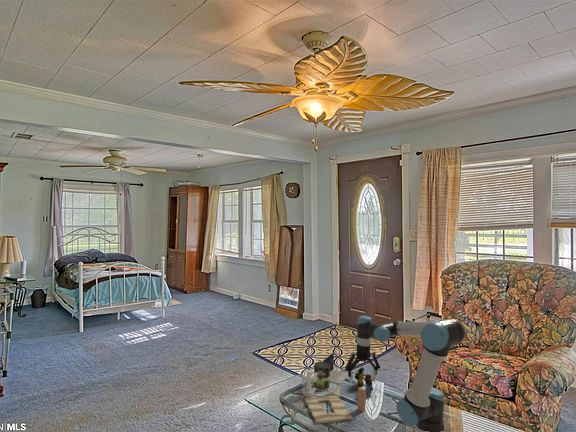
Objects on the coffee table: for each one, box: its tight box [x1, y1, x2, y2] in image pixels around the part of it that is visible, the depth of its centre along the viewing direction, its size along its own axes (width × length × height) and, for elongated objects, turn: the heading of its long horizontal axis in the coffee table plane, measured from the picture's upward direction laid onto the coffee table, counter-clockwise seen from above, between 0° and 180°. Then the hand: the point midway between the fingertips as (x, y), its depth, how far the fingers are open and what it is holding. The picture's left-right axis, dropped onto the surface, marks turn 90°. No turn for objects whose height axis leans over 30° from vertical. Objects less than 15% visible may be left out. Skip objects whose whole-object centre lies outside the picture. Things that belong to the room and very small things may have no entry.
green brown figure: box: [312, 361, 331, 392], centre depth 239 cm, size 10×10×14 cm
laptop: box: [322, 352, 349, 385], centre depth 254 cm, size 18×12×13 cm
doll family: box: [353, 367, 374, 398], centre depth 236 cm, size 23×9×13 cm, turn 23°
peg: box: [357, 386, 367, 413], centre depth 213 cm, size 4×4×12 cm
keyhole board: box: [304, 395, 354, 425], centre depth 212 cm, size 24×20×2 cm
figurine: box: [301, 369, 317, 398], centre depth 227 cm, size 7×9×15 cm
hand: (362, 381), depth 213 cm, fingers open, 13 cm apart
